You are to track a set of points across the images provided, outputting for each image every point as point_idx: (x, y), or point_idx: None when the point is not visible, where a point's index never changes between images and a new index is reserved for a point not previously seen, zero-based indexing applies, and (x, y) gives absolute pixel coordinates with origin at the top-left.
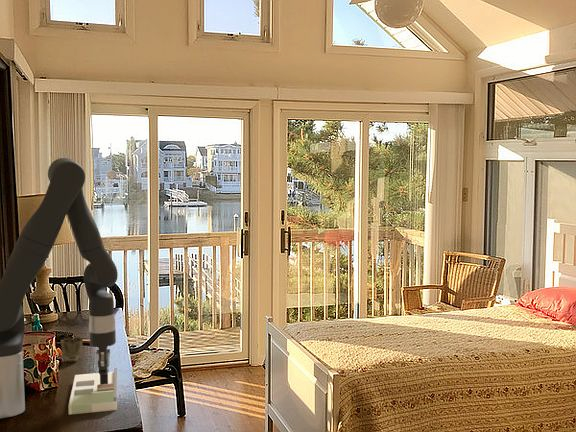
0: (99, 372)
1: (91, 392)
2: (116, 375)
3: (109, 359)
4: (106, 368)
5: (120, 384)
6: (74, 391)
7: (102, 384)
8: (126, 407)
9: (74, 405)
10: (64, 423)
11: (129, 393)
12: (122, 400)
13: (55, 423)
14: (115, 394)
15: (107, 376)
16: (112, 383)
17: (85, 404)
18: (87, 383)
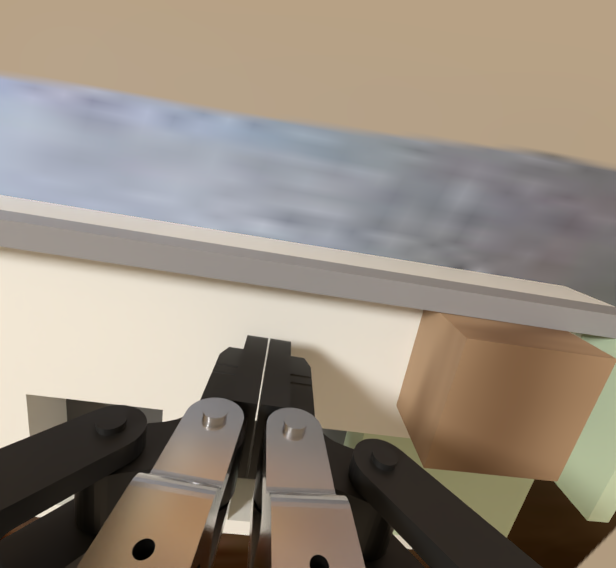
0: (399, 553)
1: (590, 520)
2: (15, 224)
3: (108, 550)
4: (515, 557)
5: (27, 171)
6: (243, 517)
7: (443, 433)
8: (561, 220)
9: (508, 531)
10: (570, 525)
11: (284, 141)
12: (412, 222)
13: (544, 553)
14: (582, 318)
15: (288, 389)
16: (470, 349)
17: (529, 482)
18: (45, 423)
